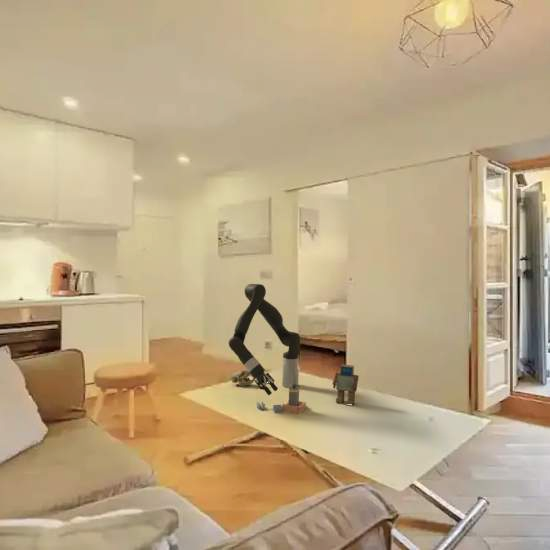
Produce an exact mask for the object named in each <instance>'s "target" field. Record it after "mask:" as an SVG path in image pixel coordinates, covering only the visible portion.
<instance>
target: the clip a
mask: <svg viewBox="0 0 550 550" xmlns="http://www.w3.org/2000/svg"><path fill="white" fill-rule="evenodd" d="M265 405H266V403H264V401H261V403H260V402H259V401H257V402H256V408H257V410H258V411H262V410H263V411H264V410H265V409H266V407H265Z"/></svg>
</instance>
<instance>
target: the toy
mask: <svg viewBox="0 0 550 550" xmlns="http://www.w3.org/2000/svg"><path fill="white" fill-rule="evenodd" d="M354 372H355V366H354V365H350V364H342V365H340V372H335V375H334V378H333V381H332V385H333V387H332V388H333V389H336V390H337V397H336V399H335V403H336V402H339V403H338V404H341V403H342V402H343V403H344V402H345V392H347V400H346V403H345V404H353V403H354V402H355V403H356V392H357V389H358V383H359V375H358V374H354ZM343 403H342V404H343ZM355 403H354V404H355Z"/></svg>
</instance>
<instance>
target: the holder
mask: <svg viewBox="0 0 550 550" xmlns="http://www.w3.org/2000/svg"><path fill="white" fill-rule="evenodd" d="M281 406H283V408H282V412H287V413H288V412H289V413H293V414H294V413H295V414H299V413H301V412H302V413H303V412H304V411H305V410H306V409H307V408H308V405H307V402H306V401H302V400H299V406H292V405H289V399H288V402H287V403H283V404H281ZM303 410H304V411H303ZM302 413H301V414H302Z"/></svg>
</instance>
